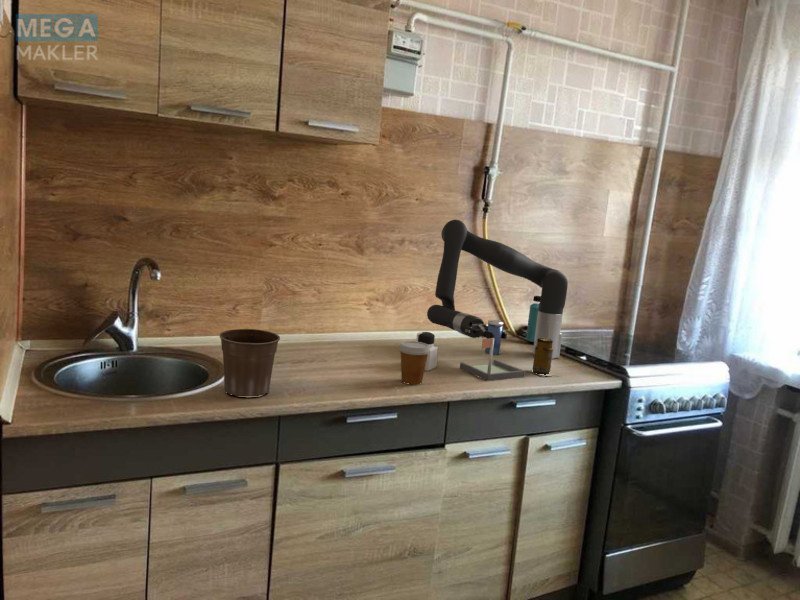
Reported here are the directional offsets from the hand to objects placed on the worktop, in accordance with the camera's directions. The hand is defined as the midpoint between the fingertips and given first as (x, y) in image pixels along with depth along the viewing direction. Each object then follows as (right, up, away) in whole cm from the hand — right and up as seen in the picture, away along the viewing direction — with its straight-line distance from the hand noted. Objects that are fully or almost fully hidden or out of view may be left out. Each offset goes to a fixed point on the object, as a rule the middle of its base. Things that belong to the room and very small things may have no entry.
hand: (499, 336), depth 225 cm
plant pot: (-76, -13, -38) cm, 86 cm away
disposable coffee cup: (-30, -14, -15) cm, 36 cm away
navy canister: (-2, -6, +3) cm, 7 cm away
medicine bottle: (-26, -11, +3) cm, 28 cm away
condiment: (+16, -13, +9) cm, 23 cm away
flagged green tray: (-4, -12, +3) cm, 13 cm away
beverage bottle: (+22, -6, +55) cm, 59 cm away
